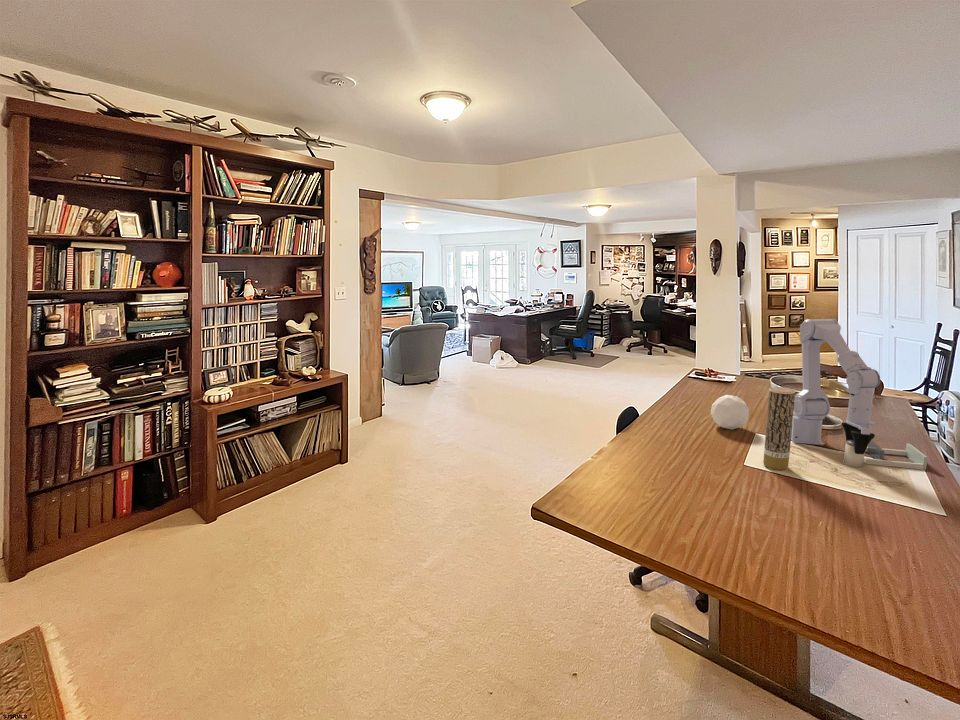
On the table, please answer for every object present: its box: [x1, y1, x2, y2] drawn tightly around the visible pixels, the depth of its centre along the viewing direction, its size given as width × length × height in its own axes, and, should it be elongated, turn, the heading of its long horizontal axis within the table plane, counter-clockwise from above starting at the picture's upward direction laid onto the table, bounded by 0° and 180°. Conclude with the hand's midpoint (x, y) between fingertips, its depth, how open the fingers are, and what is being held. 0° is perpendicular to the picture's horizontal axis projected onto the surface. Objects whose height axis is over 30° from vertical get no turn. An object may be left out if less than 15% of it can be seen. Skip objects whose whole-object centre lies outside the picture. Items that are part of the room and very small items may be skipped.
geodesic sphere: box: [710, 393, 750, 431], centre depth 191 cm, size 14×14×14 cm
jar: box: [842, 440, 866, 468], centre depth 153 cm, size 5×5×7 cm
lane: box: [865, 443, 929, 470], centre depth 156 cm, size 15×13×4 cm
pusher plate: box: [867, 440, 885, 460], centre depth 158 cm, size 1×10×4 cm, turn 158°
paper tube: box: [762, 386, 796, 471], centre depth 151 cm, size 7×7×25 cm
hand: (855, 449), depth 153 cm, fingers open, 7 cm apart
